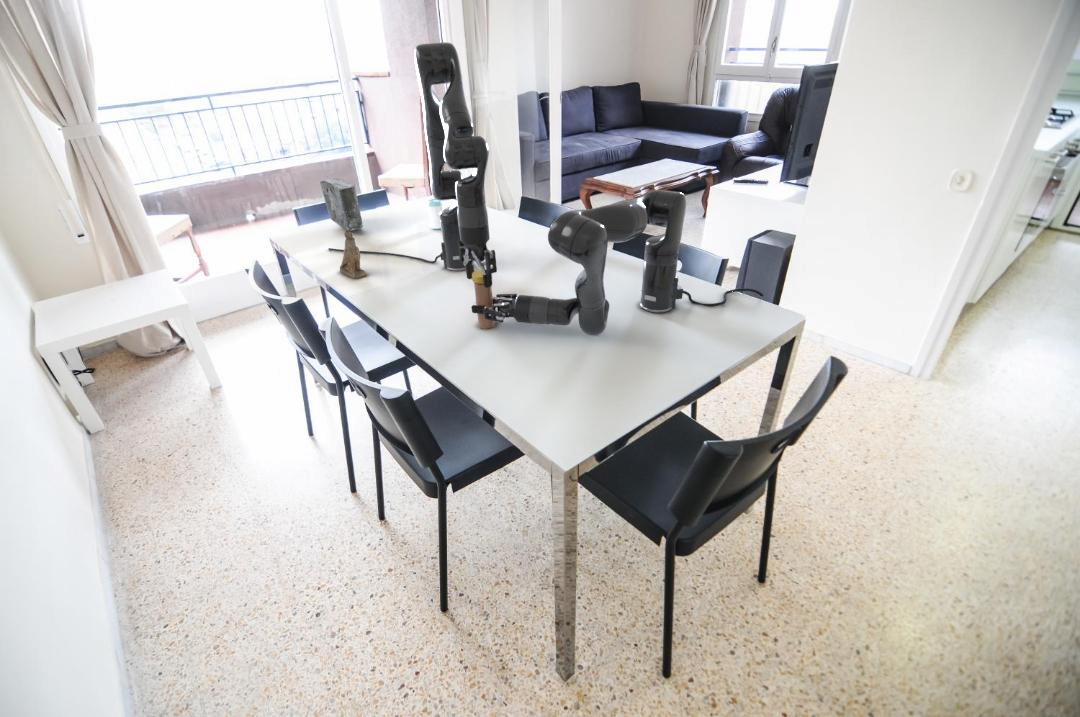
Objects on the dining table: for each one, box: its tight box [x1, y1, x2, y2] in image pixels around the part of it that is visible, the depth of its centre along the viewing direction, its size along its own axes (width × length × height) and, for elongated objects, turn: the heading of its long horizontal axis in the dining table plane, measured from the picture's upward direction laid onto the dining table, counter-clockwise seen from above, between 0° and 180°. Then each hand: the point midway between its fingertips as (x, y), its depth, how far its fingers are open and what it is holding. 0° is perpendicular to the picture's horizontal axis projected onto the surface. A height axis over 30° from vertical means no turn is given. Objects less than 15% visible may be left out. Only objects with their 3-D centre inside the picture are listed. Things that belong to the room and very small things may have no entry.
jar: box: [473, 282, 496, 330], centre depth 137 cm, size 5×5×15 cm
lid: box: [471, 269, 484, 284], centre depth 133 cm, size 5×5×2 cm
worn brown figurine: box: [339, 230, 367, 280], centre depth 174 cm, size 12×6×18 cm, turn 43°
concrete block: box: [319, 177, 364, 232], centre depth 222 cm, size 27×9×20 cm, turn 36°
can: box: [426, 198, 445, 230], centre depth 220 cm, size 7×7×12 cm
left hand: (479, 282), depth 134 cm, fingers open, 7 cm apart
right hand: (475, 304), depth 138 cm, fingers closed on jar, 4 cm apart
